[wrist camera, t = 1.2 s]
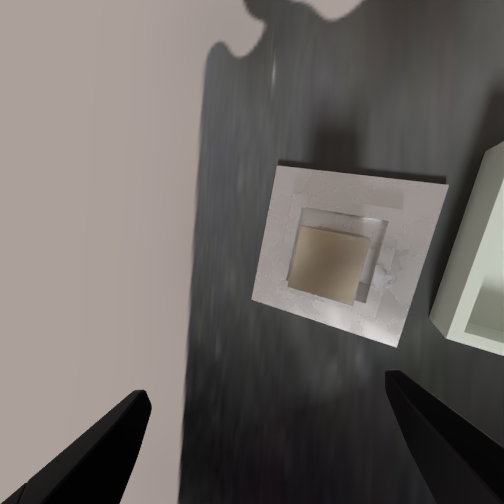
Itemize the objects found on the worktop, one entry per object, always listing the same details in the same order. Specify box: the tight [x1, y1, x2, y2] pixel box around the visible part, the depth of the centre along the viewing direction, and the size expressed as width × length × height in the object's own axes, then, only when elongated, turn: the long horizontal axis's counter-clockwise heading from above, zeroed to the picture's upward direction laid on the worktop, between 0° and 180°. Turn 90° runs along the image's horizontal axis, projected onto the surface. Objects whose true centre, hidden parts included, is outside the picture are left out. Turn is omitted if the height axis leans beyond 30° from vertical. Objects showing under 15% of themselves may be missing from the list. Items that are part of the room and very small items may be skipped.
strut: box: [287, 226, 371, 306], centre depth 18 cm, size 4×4×8 cm
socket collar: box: [252, 166, 449, 347], centre depth 22 cm, size 14×14×2 cm
